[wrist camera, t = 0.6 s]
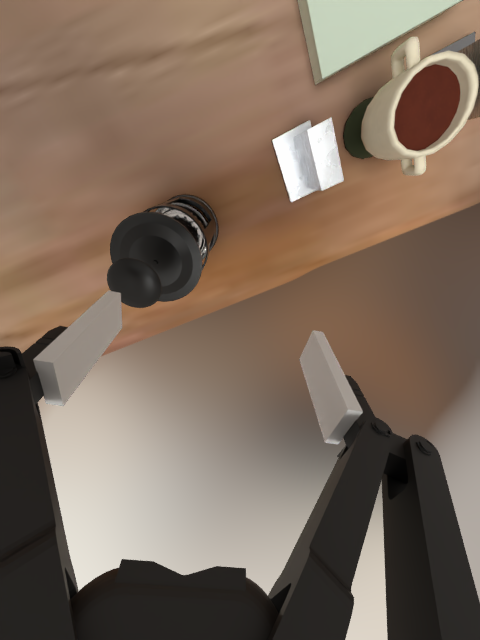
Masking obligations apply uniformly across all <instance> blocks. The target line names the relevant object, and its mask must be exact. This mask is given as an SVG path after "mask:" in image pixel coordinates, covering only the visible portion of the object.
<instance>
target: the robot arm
mask: <svg viewBox="0 0 480 640" xmlns="http://www.w3.org/2000/svg"><path fill="white" fill-rule="evenodd" d="M121 329H122V312H121V293H119V292H114V291H107V292H106V293H105V294H104V295H103V296H102V297H101V298H100V299H99V300H98V301H96V302H95V303H94V304H93V305H92V306H91V307H90V308H89V309H88V310H87V311H86V312H84V313H83V314H82V315H81V316H80V317H79V318H78V319H77V320H76V321H75V322H74V323H72V324H71V325H70V326H69V327H63V326H59V327H57V328H54V329H52V330H50V331H48V332H47V333H46V334H45V335H44V336H43V337H42V338H40V339H39V340H38V341H37V342H36V343H34V344H33V345H32V346H31V347H29V348H28V349H27V350H26V351H25V352H24V353H21V351H20V350H19V349H17V348H15V347H0V640H345V638H346V634H347V630H348V626H349V623H350V619H351V615H352V610H353V605H354V597H353V595H352V593H351V586H352V582H353V578H354V575H355V571H356V568H357V564H358V560H359V557H360V553H361V549H362V546H363V543H364V539H365V536H366V532H367V529H368V525H369V522H370V518H371V514H372V511H373V508H374V504H375V500H376V497H377V493H378V490H379V486H380V483H381V479H382V498H383V524H384V550H385V551H384V552H385V579H386V606H387V632H388V640H480V602H479V599H478V595H477V591H476V588H475V584H474V580H473V577H472V573H471V569H470V565H469V562H468V558H467V555H466V551H465V547H464V543H463V540H462V536H461V532H460V528H459V525H458V521H457V517H456V514H455V511H454V506H453V503H452V499H451V495H450V492H449V488H448V484H447V480H446V477H445V473H444V469H443V466H442V462H441V458H440V455H439V453H438V451H437V449H436V448H435V447H434V445H433V444H432V443H430V442H429V441H428V440H426V439H425V438H423V437H421V436H419V435H412V436H410V437H409V439H405V438H402V437H401V436H398V435H396V434H394V433H392V431H391V429H390V428H389V426H388V425H387V424H386V423H384V422H383V421H382V420H380V419H378V418H376V417H375V416H374V414H373V412H372V410H371V408H370V406H369V405H368V403H367V401H366V399H365V398H364V395H363V393H362V392H361V390H360V388H359V386H358V384H357V383H356V382H355V381H354V379H353V378H351V376H347V375H344V373H343V371H342V369H341V367H340V365H339V363H338V361H337V359H336V357H335V355H334V353H333V351H332V349H331V347H330V345H329V343H328V341H327V339H326V337H325V335H324V333H323V332H320V331H314V330H313V331H312V333H311V335H310V338H309V340H308V342H307V344H306V346H305V349H304V350H303V353H302V355H301V357H300V363H301V366H302V369H303V373H304V376H305V379H306V382H307V386H308V389H309V392H310V396H311V399H312V402H313V405H314V409H315V412H316V415H317V418H318V421H319V425H320V428H321V431H322V435H323V438H324V441H325V443H332V444H339V443H340V442H341V440H342V439H343V438H344V440H345V443H346V446H345V447H344V448H343V449H342V451H341V452H340V453H339V455H338V457H339V458H338V460H337V462H336V464H335V466H334V468H333V470H332V472H331V474H330V477H329V479H328V480H327V483H326V485H325V487H324V489H323V491H322V493H321V495H320V497H319V499H318V501H317V503H316V505H315V507H314V509H313V511H312V513H311V515H310V517H309V519H308V521H307V523H306V525H305V527H304V529H303V531H302V533H301V535H300V537H299V539H298V542H297V543H296V545H295V547H294V549H293V551H292V553H291V556H290V558H289V560H288V562H287V564H286V566H285V568H284V570H283V571H282V573H281V575H280V577H279V578H278V579H277V581H276V582H275V584H274V586H273V588H272V589H271V591H270V593H269V595H268V596H267V594H266V593H265V592H264V591H263V590H262V589H261V588H260V587H259V586H258V585H257V584H256V583H254V582H253V581H252V580H250V579H248V578H246V569H245V568H232V567H219V566H216V567H213V568H209V569H206V570H203V571H199V572H196V573H193V574H189V575H181V574H179V573H176V572H174V571H172V570H170V569H168V568H166V567H164V566H162V565H159V564H157V563H155V562H152V561H138V560H125V559H122V561H121V564H120V567H119V568H116V569H113V570H111V571H108V572H106V573H104V574H102V575H100V576H99V577H97V578H95V579H94V580H92V581H91V582H90V583H88V584H87V585H85V586H84V587H83V588H82V589H81V590H80V591H79V592H78V587H77V583H76V578H75V574H74V570H73V566H72V563H71V559H70V555H69V550H68V545H67V540H66V535H65V531H64V526H63V521H62V516H61V511H60V507H59V502H58V497H57V492H56V488H55V483H54V478H53V473H52V468H51V464H50V459H49V454H48V449H47V444H46V439H45V434H44V430H43V425H42V420H41V415H40V410H39V406H38V403H37V402H38V401H39V400H40V399H41V398H42V397H43V396H44V398H45V402H46V404H53V405H60V406H64V405H65V403H66V402H67V401H68V399H69V398H70V397H71V395H72V394H73V393H74V391H75V390H76V389H77V387H78V386H79V385H80V383H81V382H82V381H83V379H84V378H85V377H86V375H87V374H88V372H89V371H90V370H91V369H92V367H93V366H94V364H95V363H96V362H97V361H98V359H99V358H100V357H101V355H102V354H103V353H104V351H105V350H106V349H107V347H108V346H109V345H110V343H111V342H112V341H113V339H114V338H115V337H116V335H117V334H118V333H119V331H120V330H121Z"/></svg>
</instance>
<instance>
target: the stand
mask: <svg viewBox="0 0 480 640" xmlns="http://www.w3.org/2000/svg"><path fill="white" fill-rule="evenodd" d="M297 1H298V5H299V10H300V15H301V20H302V25H303V29H304V34H305V39H306V44H307V48H308V53H309V58H310V63H311V67H312V72H313V77H314V82H315V85H316V84H318V83H320V82H322V81H324V80H325V79H327V78H329V77H331V76H332V75H334V74H336V73H338V72H339V71H341V70H343V69H345V68H347V67H348V66H350V65H352V64H354V63H355V62H357V61H359V60H361V59H362V58H364V57H366V56H368V55H370V54H371V53H373V52H375V51H377V50H378V49H380V48H382V47H384V46H386V45H387V44H389V43H391V42H393V41H394V40H396V39H398V38H400V37H401V36H403V35H405V34H407V33H409V32H410V31H412V30H414V29H416V28H417V27H419V26H421V25H423V24H424V23H426V22H428V21H430V20H432V19H433V18H435V17H437V16H439V15H440V14H442V13H443V12H444V11H446V10H447V9H449V8H451V7H452V6H454V5H456V4H458V3H459V2H461V1H463V0H297Z"/></svg>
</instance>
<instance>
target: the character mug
mask: <svg viewBox="0 0 480 640" xmlns="http://www.w3.org/2000/svg"><path fill="white" fill-rule="evenodd" d="M405 56H406V66H407V70H405V71H404V57H405ZM391 66H392V76H393V79H391V80H390V81H389V82H388V83H386V84H385V85H384V86H383V87H381V88H380V89H379V91H378V92H377V94H376V95H375V96H374V97H372V98H369V99H366V100H364V101H363V102H362V103H360V104H359V105H358V106H357V107H356V108H355V109H354V110H353V112H352V113H351V115H350V117H349V118H348V120H347V122H346V126H345V131H344V135H343V137H344V142H345V147H346V149H347V150H348V151H349V152H350V153H351V155H352V156H355V157H358V158H361V159H364V158H368V157H372V156H374V157H376V158H379V159H384V160H400V159H401V166H402V172H403V174H404V175H421V174H423V173H424V172H425V171H426V155H430V154H433V153H435V152H437V151H438V150H439V149H441V148H442V147H444V146H445V145H447V144H448V143H449V142H450V141H451V140H452V139H453V138H454V137H455V136H456V135H457V133H458V132H459V131H460V130H461V129H462V128H463V127H464V125H465V123H466V121H467V119H468V117H469V116H470V114H471V112H472V110H473V108H474V105H475V101H476V98H477V94H478V87H479V81H478V74H477V71H476V68H475V64H474V63H473V62H472V61H471V60H470V59H469V58H468V57H467V56H466V55H465V54H463V53H458V52H453V51H449V50H448V51H445V52H441V53H438V54H434V55H431V56H428V57H426V58H424V59H423V60H421V61H420V48H419V40H418V37H410V38H409V39H407V40H406V41H405V42H404V43H402V44H401V45H400V46H399V47H397V48H396V50H395V51H394V52H393V54H392V55H391ZM413 158H414V165H412V159H413Z"/></svg>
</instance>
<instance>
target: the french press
mask: <svg viewBox="0 0 480 640" xmlns="http://www.w3.org/2000/svg"><path fill="white" fill-rule="evenodd" d="M186 204H188V205H186ZM189 205H192V206H195V207H197V208H199V209H200V210H201V211H202V212H203V213H204V214H205V216H206V217H207V219H208V222H209V223H208V224H207V222H206V221H205V219H204V217H203V216H202V215H201V214H200V213H199V212H198V211H197V210H195V209H194V208H192V207H190V206H189ZM155 208H159V209H157V211H156V212H149V211H150V210H152V209H155ZM217 237H218V221H217V218H216V216H215V214H214V212H213V210H212V209H211V207H210V206H209V205H208V204H207V203H206V202H205V201H203V200H202V199H200V198H198V197H196V196H193V195H186V194H184V195H178V196H175V197H172V198H171V199H169V200H168V201H167V202H164V203H162V204H159V205H157V206H154V207H152V208H149V209H147V210H145V211H144V212H142V213H137V214H134V215H132V216H129V217H128V218H126V219H125V220H123V221H122V222H121V223H120V224H119V225H118V226H117V227H116V229H115V231H114V233H113V235H112V239H111V243H110V255H111V260H112V263H113V264H112V265H111V266H110V268H109V270H108V273H107V282H108V286H109V288H110V290H111V291H114V292H119V293H121V302H123V303H124V304H126V305H129V306H131V307H136V308H144V307H148V306H151V305H153V304H154V303H155V302H157V301H163V302H166V301H174V300H177V299H180V298H182V297H184V296H186V295H187V294H189V293H190V292H191V291H192V290H193V289H194V287H195V286H196V285H197V283H198V281H199V279H200V276H201V272H202V270H203V268H204V266H205V264H206V261H207V259H208V254H209V251H210V250H211V249H212V247H213V246H214V245H215V242H216V240H217ZM205 256H206V258H205V262H204V264H203V265H202V260H203V259H204V257H205Z"/></svg>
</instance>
